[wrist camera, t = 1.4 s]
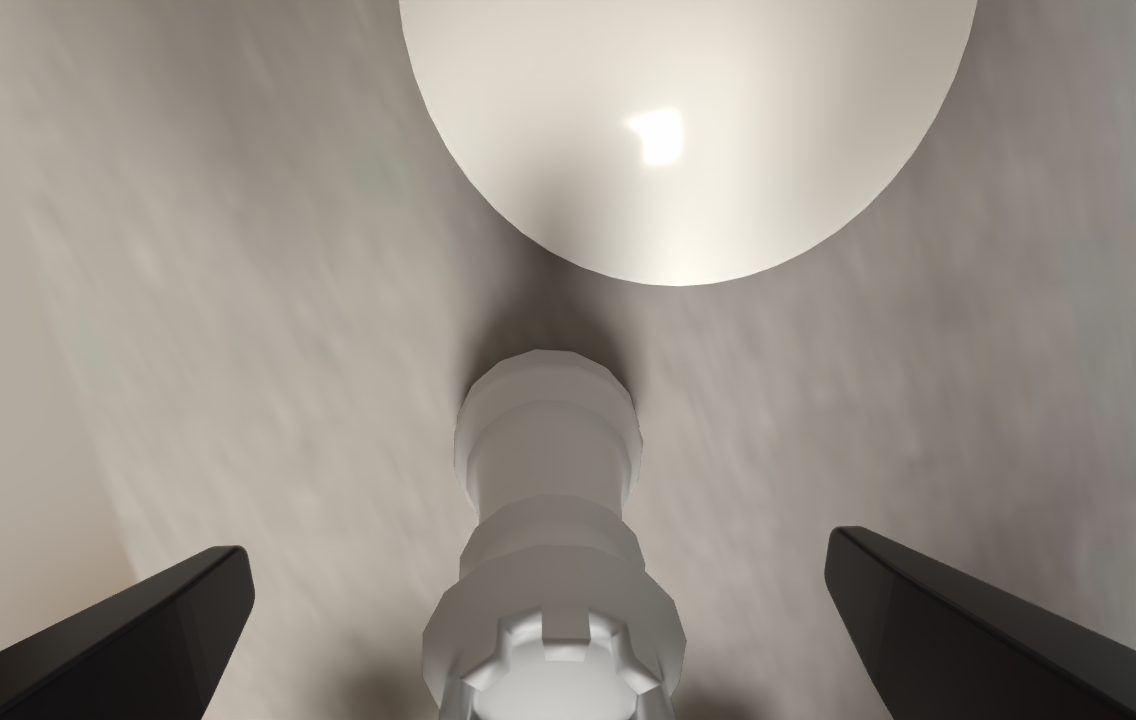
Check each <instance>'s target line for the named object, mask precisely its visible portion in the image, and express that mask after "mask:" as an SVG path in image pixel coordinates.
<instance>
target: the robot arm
mask: <svg viewBox="0 0 1136 720" xmlns="http://www.w3.org/2000/svg"><path fill="white" fill-rule="evenodd" d="M824 575H825V582H826V585H827V588H828V591H829V593H830V595H831V597H832V599H833V601H834V603H835V605H836V607H837V610H838V612H839V614H840V616H841V618H842V620H843V622H844V624H845V626H846V628H847V631H848V633H849V635H850V637H851V639H852V641H853V643H854V645H855V647H856V650H857V652H858V654H859V656H860V658H861V660H862V662H863V664H864V666H865V668H866V670H867V672H868V674H869V676H870V678H871V680H872V682H873V684H874V686H875V688H876V689H877V691H878V693H879V695H880V696H881V698H882V700H883V702H884V703H885V705H886V707H887V708H888V710H889V712H890V713H891V715H892V717H893V719H894V720H1136V650H1133V649H1131V648H1129V647H1127V646H1125V645H1122V644H1120V643H1118V642H1116V641H1114V640H1111V639H1109V638H1107V637H1105V636H1103V635H1100V634H1098V633H1096V632H1094V631H1092V630H1089V629H1087V628H1085V627H1083V626H1080V625H1078V624H1076V623H1074V622H1072V621H1069V620H1067V619H1065V618H1063V617H1061V616H1058V615H1056V614H1054V613H1052V612H1050V611H1047V610H1045V609H1043V608H1041V607H1039V606H1036V605H1034V604H1032V603H1030V602H1027V601H1025V600H1023V599H1021V598H1019V597H1016V596H1014V595H1012V594H1010V593H1008V592H1005V591H1003V590H1001V589H999V588H997V587H994V586H992V585H990V584H988V583H986V582H983V581H981V580H979V579H977V578H974V577H972V576H970V575H968V574H966V573H963V572H961V571H959V570H957V569H955V568H952V567H950V566H948V565H946V564H944V563H941V562H939V561H937V560H935V559H933V558H930V557H928V556H926V555H924V554H921V553H919V552H917V551H915V550H913V549H910V548H908V547H906V546H904V545H902V544H899V543H897V542H895V541H893V540H891V539H888V538H886V537H884V536H882V535H880V534H877V533H875V532H873V531H871V530H868V529H866V528H864V527H861V526H842V527H836V528H834V529H833V530H832V532H831V534H830V538H829V544H828V551H827V557H826V564H825V571H824ZM254 600H255V589H254V584H253V579H252V574H251V569H250V564H249V559H248V554H247V551H246V550H245V548H243V547H242V546H239V545H234V546H214V547H211V548H208V549H206V550H204V551H202V552H200V553H198V554H196V555H194V556H192V557H190V558H188V559H186V560H184V561H182V562H180V563H178V564H176V565H174V566H172V567H170V568H168V569H166V570H164V571H162V572H160V573H158V574H156V575H154V576H152V577H150V578H148V579H145V580H143V581H141V582H139V583H137V584H135V585H133V586H131V587H129V588H127V589H125V590H123V591H121V592H120V593H117V594H115V595H113V596H111V597H109V598H107V599H105V600H103V601H101V602H99V603H97V604H95V605H93V606H91V607H89V608H87V609H85V610H83V611H81V612H79V613H77V614H75V615H73V616H71V617H69V618H66V619H64V620H62V621H60V622H58V623H56V624H54V625H52V626H50V627H48V628H46V629H44V630H42V631H40V632H38V633H36V634H34V635H32V636H30V637H28V638H26V639H24V640H22V641H20V642H18V643H16V644H14V645H12V646H10V647H8V648H6V649H4V650H2V651H0V720H201V719H202V717H203V715H204V713H205V711H206V709H207V707H208V705H209V703H210V701H211V699H212V697H213V695H214V692H215V690H216V688H217V686H218V684H219V681H220V679H221V677H222V675H223V672H224V670H225V668H226V666H227V664H228V661H229V659H230V657H231V655H232V653H233V650H234V648H235V646H236V644H237V642H238V639H239V637H240V635H241V633H242V631H243V628H244V626H245V624H246V622H247V620H248V617H249V615H250V613H251V611H252V608H253V605H254Z"/></svg>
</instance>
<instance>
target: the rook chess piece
mask: <svg viewBox="0 0 1136 720" xmlns="http://www.w3.org/2000/svg"><path fill="white" fill-rule="evenodd" d="M642 447H643V439H642V436H641V433H640V430H639V423H638V420H637V417H636V413H635V410H634V407H633V404H632V400H631V397H630V394H629V393H628V392H627V390H626V389H625V388H624V387H623V386H622V385H621V384H620V382H619V381H618V380H617V379H616V378H615V377H614V376H613V374H612V373H611V372H610V371H609V370H608V369H607V368H606V367H604V366H602V365H600V364H598V363H596V362H594V361H592V360H590V359H588V358H586V357H583V356H581V355H579V354H577V353H575V352H570V351H555V350H539V349H535V350H532V351H529V352H526V353H523V354H520V355H517V356H514V357H511V358H508V359H505V360H502V361H500V362H498V363H497V364H496V365H495V366H494V367H493V368H491V369H490V370H489V371H488V372H487V373H486V374H484V375H483V376H482V377H481V378H480V379H479V380H477V381H476V382H475V383H474V384H473V385H472V387H471V389H470V391H469V393H468V395H467V397H466V399H465V401H464V403H463V405H462V407H461V410H460V412H459V414H458V416H457V427H456V429H455V434H454V469H455V472H456V475H457V477H458V480H459V482H460V484H461V487H462V489H463V491H464V494H465V496H466V498H467V501H468V503H469V505H470V506H471V507H473V508H474V509H475V510H476V513H477V515H478V516H479V526H477V527H476V528H475V530H474V532H473V534H472V536H471V538H470V539H469V541H468V543H467V545H466V547H465V549H464V551H463V553H462V555H461V557H460V574H459V582H457V583H456V584H455V585H453V586H452V587H451V588H450V589H448V590H447V591H446V592H445V593H444V594H443V596H442V598H441V600H440V602H439V604H438V606H437V607H436V609H435V611H434V613H433V615H432V617H431V619H430V621H429V623H428V624H427V626H426V628H425V630H424V632H423V663H422V676H423V678H424V680H425V682H426V684H427V686H428V688H429V690H430V692H431V694H432V696H433V698H434V700H435V702H436V704H437V706H438V707H439V709H440V711H439V720H675V715H674V711H673V707H672V703H671V699H670V697H671V695H672V693H673V692H674V690H675V688H676V687H677V685H678V683H679V681H680V676H681V670H682V664H683V658H684V653H685V647H686V638H685V635H684V631H683V628H682V625H681V622H680V619H679V616H678V613H677V610H676V606H675V603H674V600H673V599H672V598H671V597H670V596H669V595H668V594H667V593H666V592H665V591H664V590H663V589H662V588H661V587H660V586H659V585H658V584H657V583H656V582H655V581H654V580H653V579H652V578H651V577H650V576H649V575H648V574H647V573H646V572H645V562H644V559H643V556H642V553H641V550H640V547H639V544H638V541H637V538H636V535H635V534H634V533H633V532H632V530H631V529H630V528H629V527H628V526H627V525H626V524H625V523H624V522H623V521H622V507H623V506H624V504H625V502H626V501H627V499H628V497H629V496H630V494H631V492H632V491H633V489H634V487H635V486H636V484H637V482H638V477H639V470H640V462H641V455H642Z"/></svg>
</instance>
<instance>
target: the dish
mask: <svg viewBox="0 0 1136 720" xmlns="http://www.w3.org/2000/svg"><path fill="white" fill-rule="evenodd" d="M977 2H978V0H399V7H400V14H401V21H402V29H403V34H404V38H405V42H406V45H407V49H408V53H409V57H410V61H411V65H412V69H413V73H414V76H415V78H416V81H417V84H418V86H419V89H420V91H421V94H422V97H423V99H424V102H425V104H426V107H427V110H428V112H429V114H430V116H431V118H432V120H433V122H434V124H435V126H436V128H437V130H438V132H439V133H440V135H441V137H442V139H443V141H444V143H445V145H446V147H447V149H448V150H449V152H450V153H451V155H452V156H453V157H454V159H455V160H456V162H457V163H458V165H459V166H460V168H461V169H462V170H463V172H464V173H465V175H466V176H467V178H468V179H469V181H470V182H471V183H472V184H473V185H474V186H475V187H476V189H477V190H478V191H479V192H480V193H481V194H482V195H483V196H484V198H485V199H486V200H487V201H488V202H489V203H490V204H491V205H492V207H493V208H494V209H495V210H496V211H498V212H499V213H500V214H501V215H502V216H503V217H504V218H506V219H507V220H508V221H509V222H510V223H511V224H512V225H514V226H515V227H516V228H517V229H518V230H519V231H520V232H522V233H523V234H525V235H526V236H528V237H529V238H531V239H532V240H534V241H535V242H537V243H538V244H540V245H541V246H542V247H544V248H545V249H547V250H548V251H550V252H552V253H554V254H556V255H558V256H560V257H562V258H564V259H566V260H568V261H570V262H572V263H574V264H576V265H578V266H580V267H582V268H585V269H588V270H591V271H594V272H597V273H600V274H603V275H606V276H609V277H612V278H616V279H622V280H627V281H632V282H637V283H642V284H651V285H669V286H686V285H700V284H712V283H717V282H722V281H727V280H731V279H736V278H741V277H745V276H748V275H751V274H754V273H757V272H760V271H763V270H766V269H769V268H771V267H774V266H777V265H779V264H781V263H783V262H785V261H787V260H789V259H791V258H793V257H795V256H797V255H800V254H802V253H804V252H806V251H808V250H809V249H811V248H812V247H814V246H815V245H817V244H818V243H820V242H822V241H823V240H825V239H826V238H828V237H829V236H831V235H832V234H834V233H835V232H837V231H838V230H840V229H841V228H842V227H843V226H844V225H846V224H847V223H848V222H849V221H850V220H852V219H853V218H854V217H855V216H856V215H858V214H859V213H860V212H861V211H863V210H864V209H865V208H866V207H867V206H868V205H869V204H870V203H871V202H872V201H873V200H874V199H875V198H876V197H877V196H878V195H879V194H880V193H881V192H882V190H883V189H884V188H885V187H886V186H887V185H888V184H889V183H890V182H891V181H892V180H893V179H894V177H895V176H896V175H897V173H898V172H899V171H900V170H901V168H902V167H903V166H904V164H905V163H906V162H907V161H908V159H909V158H910V157H911V155H912V154H913V153H914V152H915V150H916V149H917V147H918V145H919V144H920V142H921V140H922V139H923V137H924V136H925V134H926V132H927V131H928V129H929V127H930V126H931V124H932V123H933V121H934V119H935V118H936V116H937V114H938V112H939V110H940V108H941V106H942V104H943V101H944V99H945V97H946V95H947V93H948V91H949V89H950V87H951V85H952V83H953V81H954V78H955V76H956V73H957V70H958V67H959V64H960V61H961V59H962V56H963V53H964V50H965V47H966V45H967V42H968V39H969V35H970V31H971V26H972V22H973V18H974V14H975V10H976V6H977Z"/></svg>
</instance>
